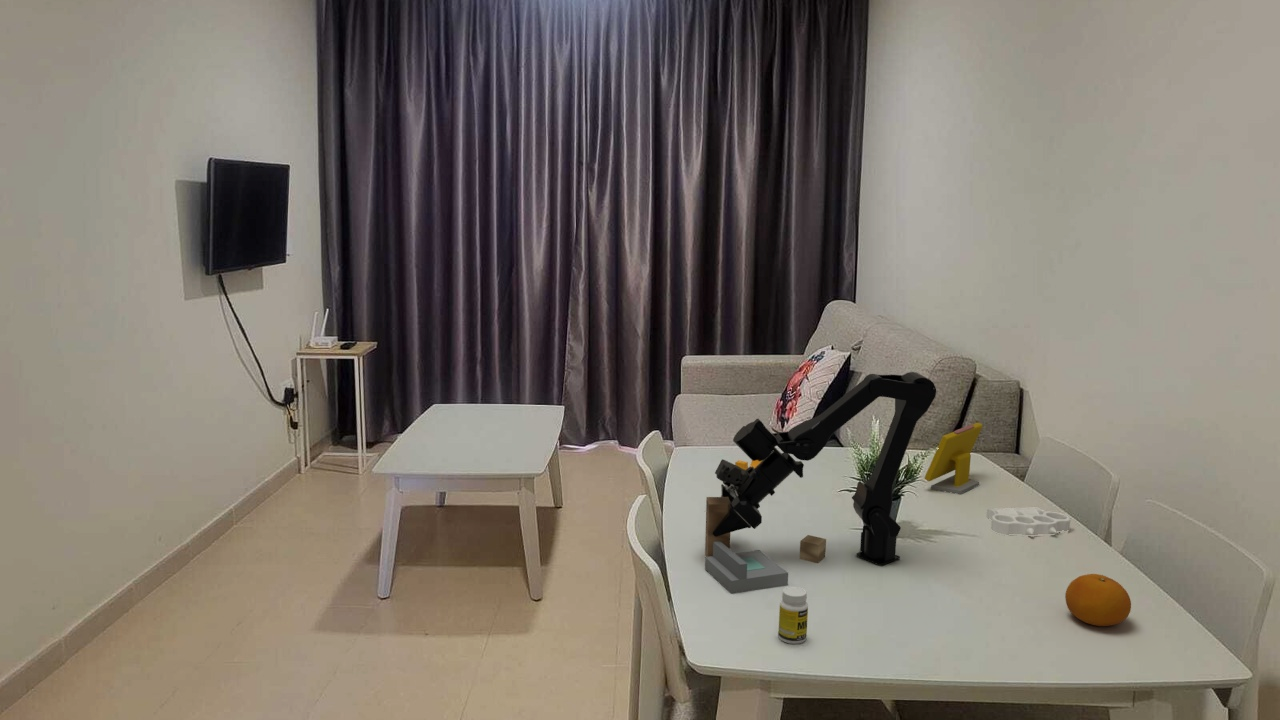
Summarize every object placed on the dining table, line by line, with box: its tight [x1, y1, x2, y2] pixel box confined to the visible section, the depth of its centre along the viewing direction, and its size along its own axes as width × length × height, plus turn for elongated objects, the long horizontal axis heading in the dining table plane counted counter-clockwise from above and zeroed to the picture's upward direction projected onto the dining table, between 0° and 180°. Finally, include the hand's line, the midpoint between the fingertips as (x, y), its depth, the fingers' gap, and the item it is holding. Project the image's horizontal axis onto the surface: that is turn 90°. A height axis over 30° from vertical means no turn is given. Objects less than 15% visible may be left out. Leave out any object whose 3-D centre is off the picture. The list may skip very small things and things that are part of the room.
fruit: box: [1064, 573, 1132, 627], centre depth 164 cm, size 10×10×8 cm
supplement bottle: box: [777, 586, 809, 645], centre depth 156 cm, size 5×5×8 cm
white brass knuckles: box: [985, 506, 1071, 535], centre depth 210 cm, size 3×18×15 cm
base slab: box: [704, 541, 789, 594], centre depth 181 cm, size 12×12×6 cm
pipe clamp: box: [734, 460, 763, 470], centre depth 240 cm, size 12×4×6 cm, turn 147°
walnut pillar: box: [704, 496, 731, 557], centre depth 189 cm, size 4×4×12 cm
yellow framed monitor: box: [924, 422, 984, 495], centre depth 238 cm, size 20×8×16 cm, turn 136°
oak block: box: [799, 534, 827, 564], centre depth 191 cm, size 4×4×4 cm
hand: (711, 527), depth 189 cm, fingers open, 8 cm apart
